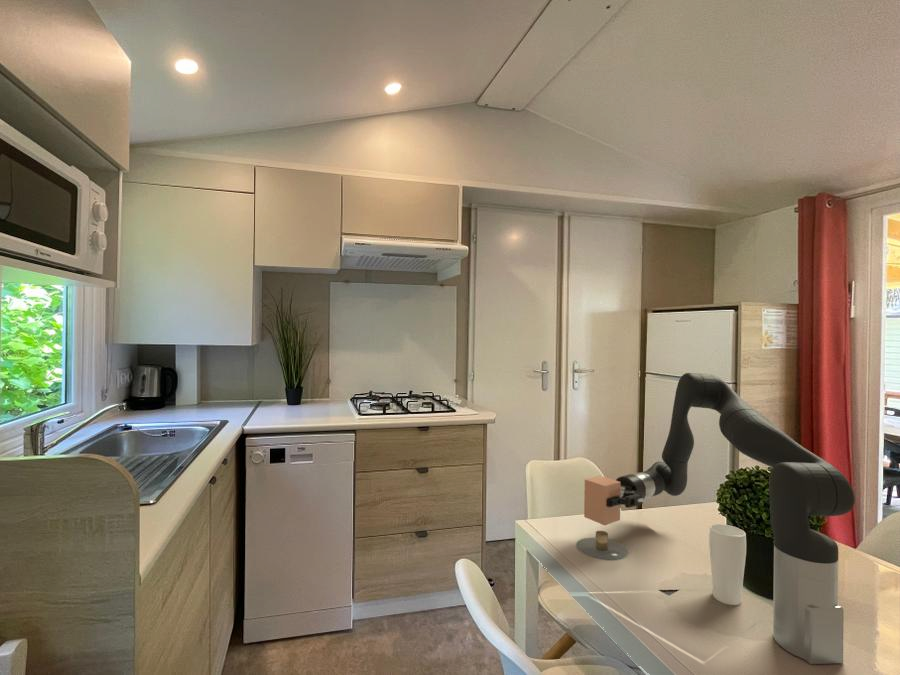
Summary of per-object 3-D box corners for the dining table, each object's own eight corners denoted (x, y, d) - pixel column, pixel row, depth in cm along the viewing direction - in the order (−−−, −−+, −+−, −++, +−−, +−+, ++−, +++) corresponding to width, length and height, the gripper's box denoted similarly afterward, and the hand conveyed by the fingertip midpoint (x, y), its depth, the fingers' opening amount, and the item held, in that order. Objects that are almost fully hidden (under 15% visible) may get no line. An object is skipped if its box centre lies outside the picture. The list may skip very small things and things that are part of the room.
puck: (609, 550, 116) (609, 535, 117) (598, 551, 116) (598, 535, 116) (604, 545, 119) (605, 530, 120) (593, 545, 119) (594, 530, 119)
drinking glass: (751, 611, 92) (752, 538, 92) (715, 606, 94) (716, 534, 94) (737, 593, 99) (738, 525, 99) (703, 589, 100) (704, 522, 100)
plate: (637, 563, 112) (637, 559, 112) (586, 563, 111) (586, 560, 111) (614, 540, 125) (614, 537, 125) (569, 540, 124) (569, 537, 124)
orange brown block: (620, 520, 117) (620, 481, 117) (604, 525, 114) (605, 486, 114) (599, 511, 123) (600, 475, 123) (584, 516, 119) (584, 479, 119)
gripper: (612, 468, 132) (574, 477, 123) (658, 481, 120) (620, 492, 111) (612, 493, 132) (574, 504, 123) (658, 509, 120) (620, 522, 111)
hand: (596, 498), depth 117 cm, fingers closed on orange brown block, 6 cm apart
